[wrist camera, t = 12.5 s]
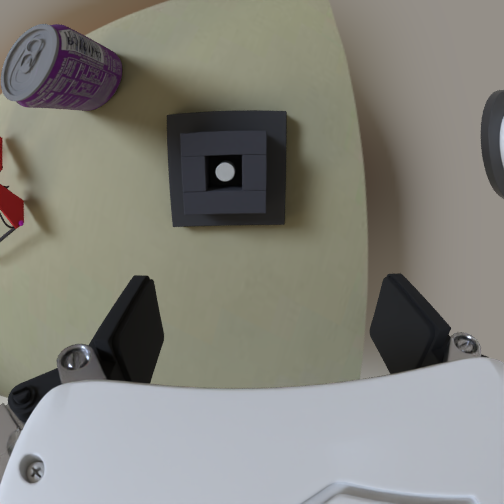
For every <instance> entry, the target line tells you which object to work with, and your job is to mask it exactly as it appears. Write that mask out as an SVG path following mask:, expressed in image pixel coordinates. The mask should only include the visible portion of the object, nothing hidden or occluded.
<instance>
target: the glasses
mask: <svg viewBox="0 0 504 504" xmlns="http://www.w3.org/2000/svg"><path fill="white" fill-rule="evenodd" d="M2 168H3V167H2V138H1V137H0V172H1V170H2ZM8 187H9V186H2V185H1V184H0V210H1V211H2V212H3V214H4V215H5V216H6V218H7V219H8V220H9V221H10V223H11V224H12V225H13V226H14V227H11V226H9V225H7V224H6V222H5V221H4V219H3V217H2V215H1V213H0V217H1V219H2V221H3V222H4V224H5V225H6V226H7V227H9V228H12V229H11V230H9V231H8V232H7V233H6V234H4V235H3V236H2V237H1V238H0V242H1V241H2V240H3V239H5V238H6V237H7V236H8V235H9V234H11V233H12V232H13V231H14V230H15V229H17V228H18V227H19V226H22V225H23V223H24V201H23V200H22V199H21V198H19V197H18V196H16V195H15V194H13V193H12V192H11V191H9V190H8V189H7V188H8Z"/></svg>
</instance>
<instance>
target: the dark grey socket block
mask: <svg viewBox="0 0 504 504" xmlns="http://www.w3.org/2000/svg"><path fill="white" fill-rule="evenodd" d="M180 136H181V157H182V158H181V164H182V184H183V200H184V214H185V215H201V214H243V213H266V185H267V155H266V154H267V131H215V132H196V133H182V134H180ZM213 155H242V185H218V186H210V174H209V156H213Z"/></svg>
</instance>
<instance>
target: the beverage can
mask: <svg viewBox="0 0 504 504" xmlns="http://www.w3.org/2000/svg"><path fill="white" fill-rule="evenodd" d="M121 77H122V64H121V61H120V59H119V57H118V56H117V54H115V53H114V52H113V51H111V50H109V49H108V48H106V47H104V46H102V45H101V44H99V43H97V42H95V41H93V40H92V39H90V38H88V37H86V36H84V35H82V34H80V33H78V32H77V31H75V30H72V29H71V28H69V27H66V26H64V25H46V24H40V25H37V26H34V27H32V28H30V29H29V30H27V31H26V32H25V33H24V34H23V35H22V36H20V37H19V39H18V40H17V41H16V42H15V44H14V45H13V46H12V48H11V49H10V51H9V53H8V55H7V57H6V59H5V62H4V65H3V68H2V73H1V88H2V92H3V94H4V96H5V97H6V98H7V99H9V100H11V101H16V102H17V103H18V104H20V105H21V106H24V107H33V108H56V109H70V110H82V111H90V110H94V109H97V108H99V107H100V106H102V105H104V104H105V103H106V102H107V101H108V100H109V99H110V98H111V97H112V96H113V95H114V93H115V92H116V90H117V88H118V86H119V84H120V81H121Z"/></svg>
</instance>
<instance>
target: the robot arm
mask: <svg viewBox="0 0 504 504" xmlns="http://www.w3.org/2000/svg"><path fill="white" fill-rule="evenodd" d="M500 153H501V159H502V164H503V167H504V117H503V119H502V123H501V128H500ZM450 330H451V327H450V326H449V325H448V324H447V323H446V321H445V320H443V318H442V317H441V316H440V315H439V313H438V312H437V311H436V310H435V309H434V308H433V307H432V306H431V305H430V303H429V302H428V301H427V300H426V299H425V298H424V297H423V296H422V295H421V294H420V293H419V292H418V290H417V289H416V288H415V287H414V286H413V285H412V284H411V283H410V282H409V281H408V280H407V279H406V278H405V277H404V276H403V275H402V274H388V275H387V277H385V278H384V279H383V282H382V286H381V290H380V294H379V298H378V302H377V306H376V310H375V313H374V317H373V320H372V323H371V327H370V336H371V338H372V340H373V342H374V344H375V346H376V347H377V349H378V351H379V353H380V355H381V357H382V358H383V361H384V362H385V364H386V366H387V368H388V370H389V372H390V374H389V375H384V376H378V377H371V378H365V379H358V380H351V381H344V382H335V383H326V384H316V385H305V386H291V387H271V388H203V387H185V386H171V385H159V384H150V382H151V378H152V375H153V372H154V369H155V366H156V363H157V360H158V356H159V353H160V350H161V347H162V344H163V341H164V332H163V327H162V322H161V317H160V312H159V307H158V302H157V296H156V291H155V285H154V281H153V280H152V279H150V278H149V277H148V276H137V275H134V276H133V278H132V279H131V280H130V282H129V283H128V285H127V286H126V288H125V289H124V291H123V292H122V294H121V295H120V297H119V298H118V300H117V301H116V303H115V304H114V306H113V307H112V309H111V310H110V312H109V313H108V315H107V316H106V318H105V320H104V321H103V323H102V324H101V326H100V327H99V329H98V331H97V332H96V334H95V336H94V337H93V339H92V340H91V342H90V344H89V345H85V344H75V345H71V346H69V347H67V348H65V349H64V350H63V351H61V353H60V354H59V355H58V358H57V367H58V368H56V369H54V370H52V371H49V372H47V373H45V374H42V375H40V376H37V377H35V378H33V379H30V380H28V381H25V382H23V383H20V384H19V385H17V386H15V387H14V388H13V389H12V390H11V392H10V394H9V397H8V404H7V405H6V406H5V405H4V403H2V404H1V405H0V504H504V363H503V362H501V361H499V360H497V359H493V358H489V357H487V356H484V355H481V347H480V344H479V342H478V341H477V340H476V339H475V338H474V337H473V336H471V335H469V334H467V333H462V332H457V333H454V334H453V335H452V336H451V337H450V336H449V335H448V334H449V332H450Z"/></svg>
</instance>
